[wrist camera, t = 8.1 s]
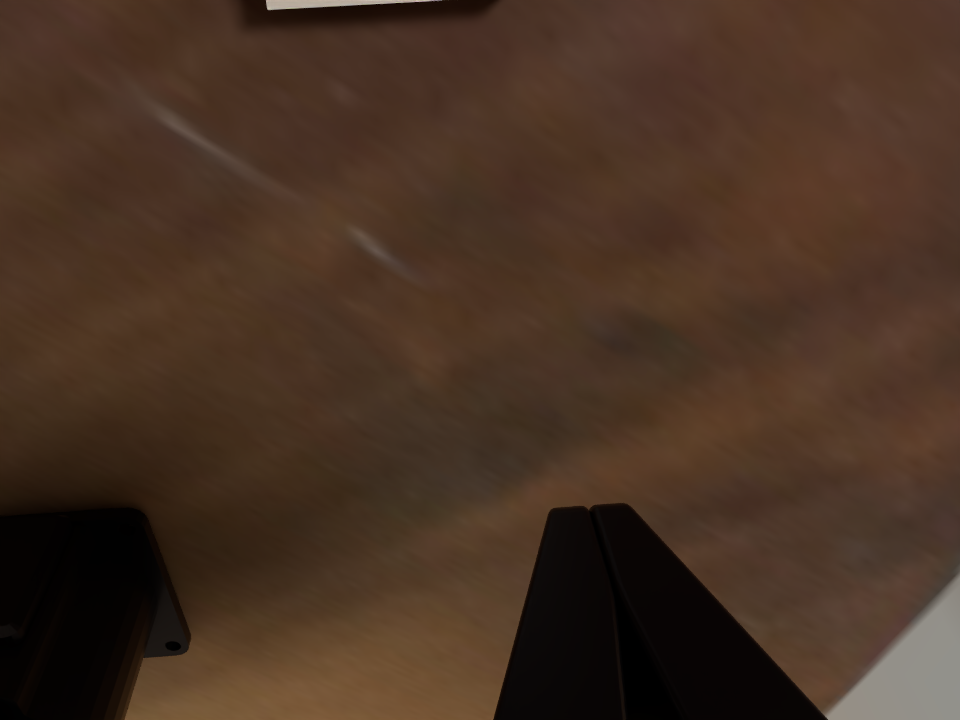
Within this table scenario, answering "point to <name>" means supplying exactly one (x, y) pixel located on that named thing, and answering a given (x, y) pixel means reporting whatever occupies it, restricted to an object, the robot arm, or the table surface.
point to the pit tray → (327, 3)
